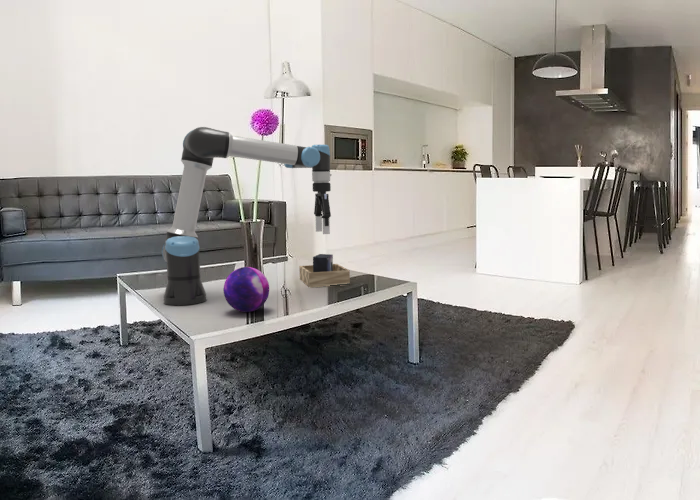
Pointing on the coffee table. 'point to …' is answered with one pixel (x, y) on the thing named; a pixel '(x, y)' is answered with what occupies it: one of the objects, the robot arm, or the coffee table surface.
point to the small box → (323, 263)
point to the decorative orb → (246, 289)
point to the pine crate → (324, 276)
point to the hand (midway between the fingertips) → (322, 232)
